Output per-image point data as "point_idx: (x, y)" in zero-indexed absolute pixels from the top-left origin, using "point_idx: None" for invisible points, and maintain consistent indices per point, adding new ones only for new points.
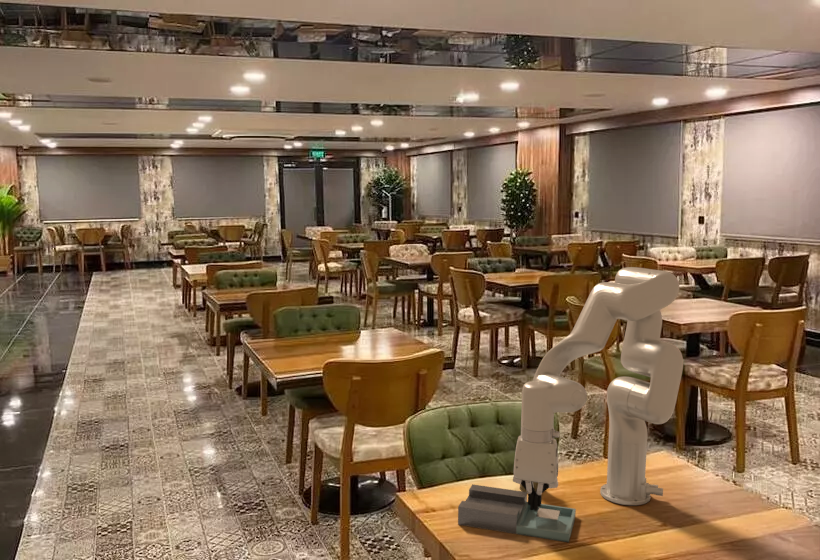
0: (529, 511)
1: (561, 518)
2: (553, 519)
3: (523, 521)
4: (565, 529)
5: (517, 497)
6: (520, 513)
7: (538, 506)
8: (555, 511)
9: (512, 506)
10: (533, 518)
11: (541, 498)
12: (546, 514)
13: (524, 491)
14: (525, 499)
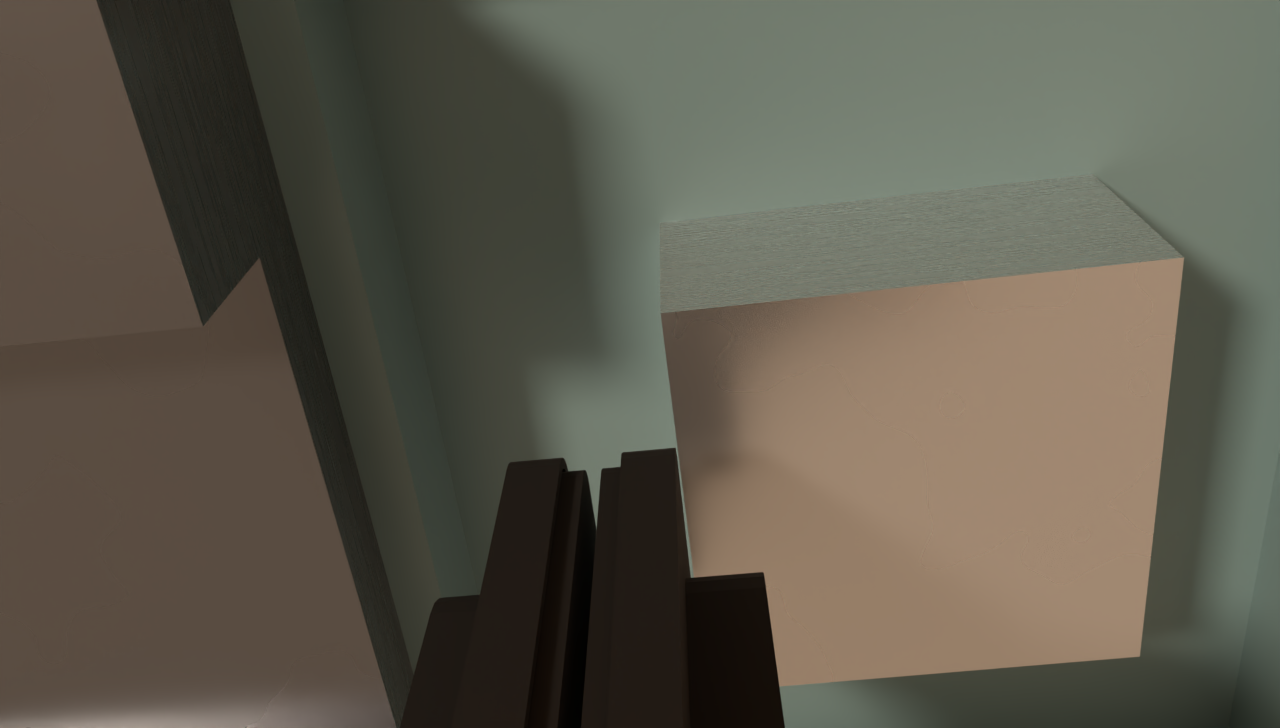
0: (386, 11)
1: (1128, 47)
2: (1055, 660)
3: (452, 484)
4: (1214, 460)
5: (14, 337)
6: (387, 675)
7: (679, 479)
8: (1074, 333)
9: (104, 508)
10: (575, 301)
11: (775, 664)
12: (891, 546)
13: None
14: (198, 125)
